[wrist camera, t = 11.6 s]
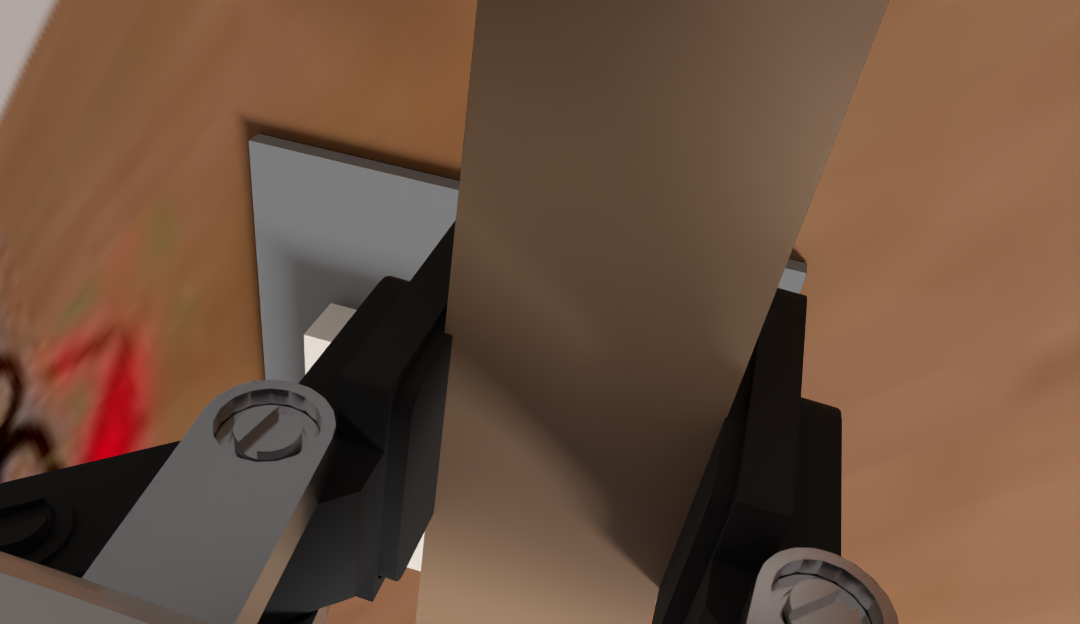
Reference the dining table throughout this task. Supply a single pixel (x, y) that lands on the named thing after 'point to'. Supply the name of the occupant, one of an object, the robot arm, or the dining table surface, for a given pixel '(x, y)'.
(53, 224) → the dining table surface
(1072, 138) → the dining table surface
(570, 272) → the tan rectangular bar
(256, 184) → the rubber mat
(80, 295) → the dining table surface
